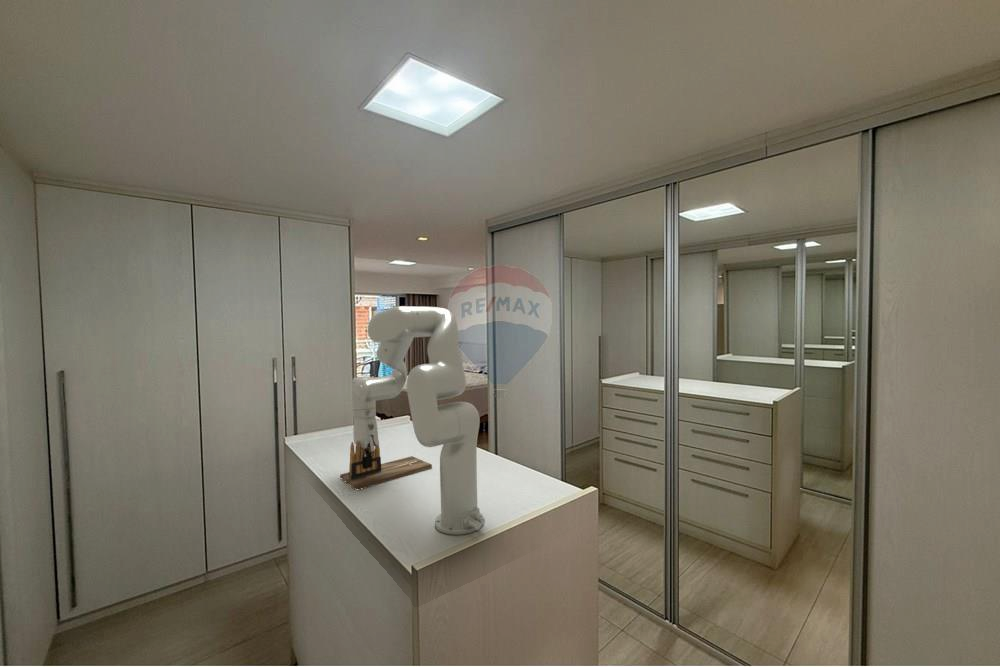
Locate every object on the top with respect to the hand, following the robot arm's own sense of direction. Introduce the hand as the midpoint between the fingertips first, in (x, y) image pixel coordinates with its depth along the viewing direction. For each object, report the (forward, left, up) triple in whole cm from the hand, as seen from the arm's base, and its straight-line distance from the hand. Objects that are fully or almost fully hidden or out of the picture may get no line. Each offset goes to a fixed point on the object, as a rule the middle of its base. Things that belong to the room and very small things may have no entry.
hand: (365, 466), depth 139 cm
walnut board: (0, -8, -5) cm, 9 cm away
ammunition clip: (0, 0, -3) cm, 3 cm away
